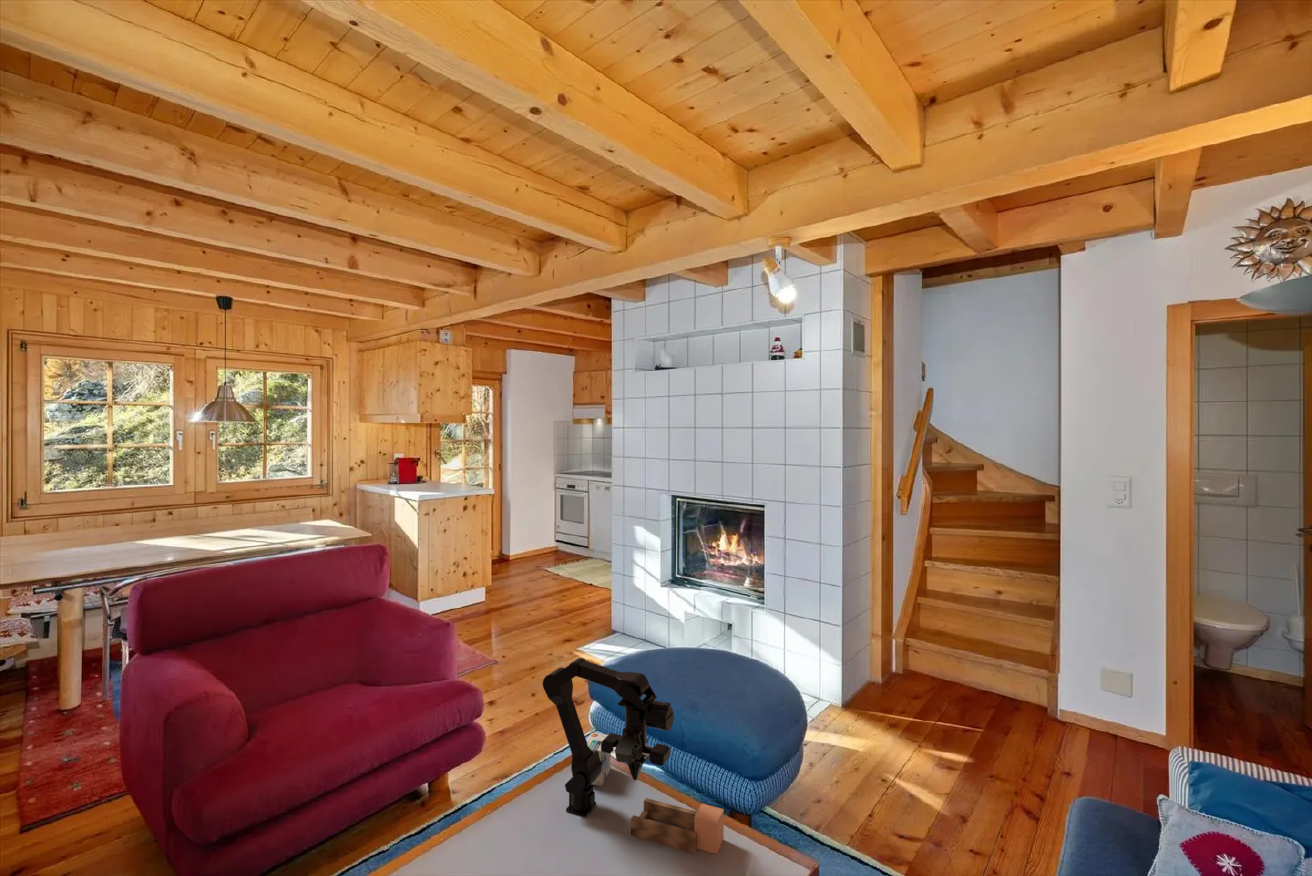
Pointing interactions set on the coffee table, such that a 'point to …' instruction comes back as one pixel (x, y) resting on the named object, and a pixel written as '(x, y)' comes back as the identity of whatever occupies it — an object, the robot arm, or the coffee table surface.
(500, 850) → the coffee table surface
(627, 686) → the robot arm
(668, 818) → the walnut chute
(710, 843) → the terracotta block
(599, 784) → the light bulb box
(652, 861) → the coffee table surface
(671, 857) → the coffee table surface
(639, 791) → the coffee table surface
